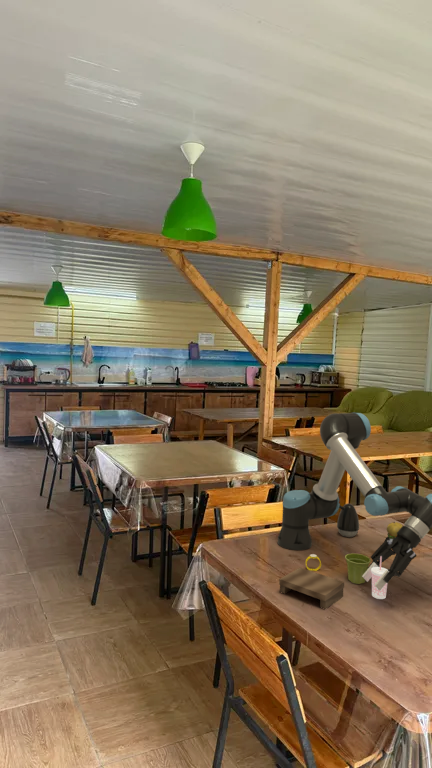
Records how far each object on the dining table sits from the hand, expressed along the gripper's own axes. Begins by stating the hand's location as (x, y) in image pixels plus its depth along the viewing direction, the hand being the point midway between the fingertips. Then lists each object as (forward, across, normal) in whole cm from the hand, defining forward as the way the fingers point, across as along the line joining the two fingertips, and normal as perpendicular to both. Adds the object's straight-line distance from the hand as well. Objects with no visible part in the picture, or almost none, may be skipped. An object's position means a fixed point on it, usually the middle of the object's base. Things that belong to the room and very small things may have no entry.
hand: (370, 583), depth 176 cm
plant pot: (+1, +17, -10) cm, 19 cm away
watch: (+9, +30, -2) cm, 31 cm away
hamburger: (-26, +42, -37) cm, 62 cm away
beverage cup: (+1, 0, -6) cm, 6 cm away
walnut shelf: (+17, +12, +6) cm, 21 cm away
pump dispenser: (-17, +60, -29) cm, 69 cm away
